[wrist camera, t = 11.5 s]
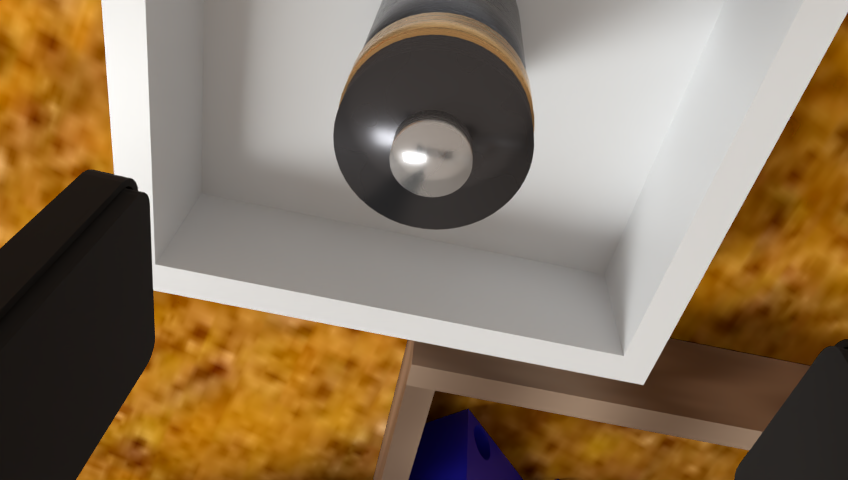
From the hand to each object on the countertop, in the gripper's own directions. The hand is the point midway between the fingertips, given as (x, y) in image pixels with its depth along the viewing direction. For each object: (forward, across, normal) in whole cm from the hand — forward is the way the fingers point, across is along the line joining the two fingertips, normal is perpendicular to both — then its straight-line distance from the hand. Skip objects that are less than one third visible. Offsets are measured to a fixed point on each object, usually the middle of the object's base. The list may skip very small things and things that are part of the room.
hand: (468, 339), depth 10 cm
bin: (+13, +1, 0) cm, 13 cm away
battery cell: (+12, +1, 0) cm, 12 cm away
